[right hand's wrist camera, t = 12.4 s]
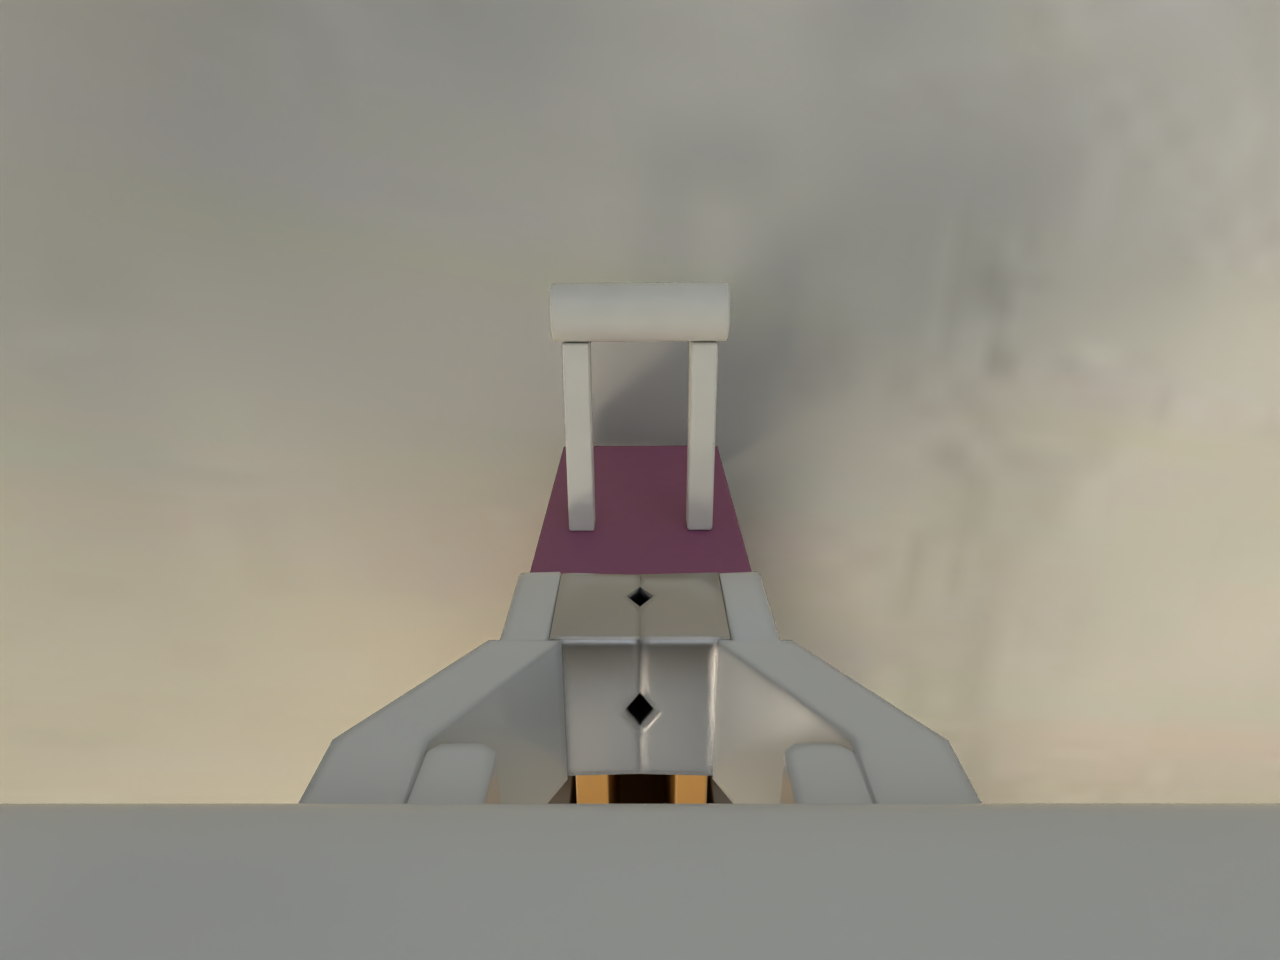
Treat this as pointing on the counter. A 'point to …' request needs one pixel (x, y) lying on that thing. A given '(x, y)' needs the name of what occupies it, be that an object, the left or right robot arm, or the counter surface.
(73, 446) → the counter surface
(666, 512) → the drawer
